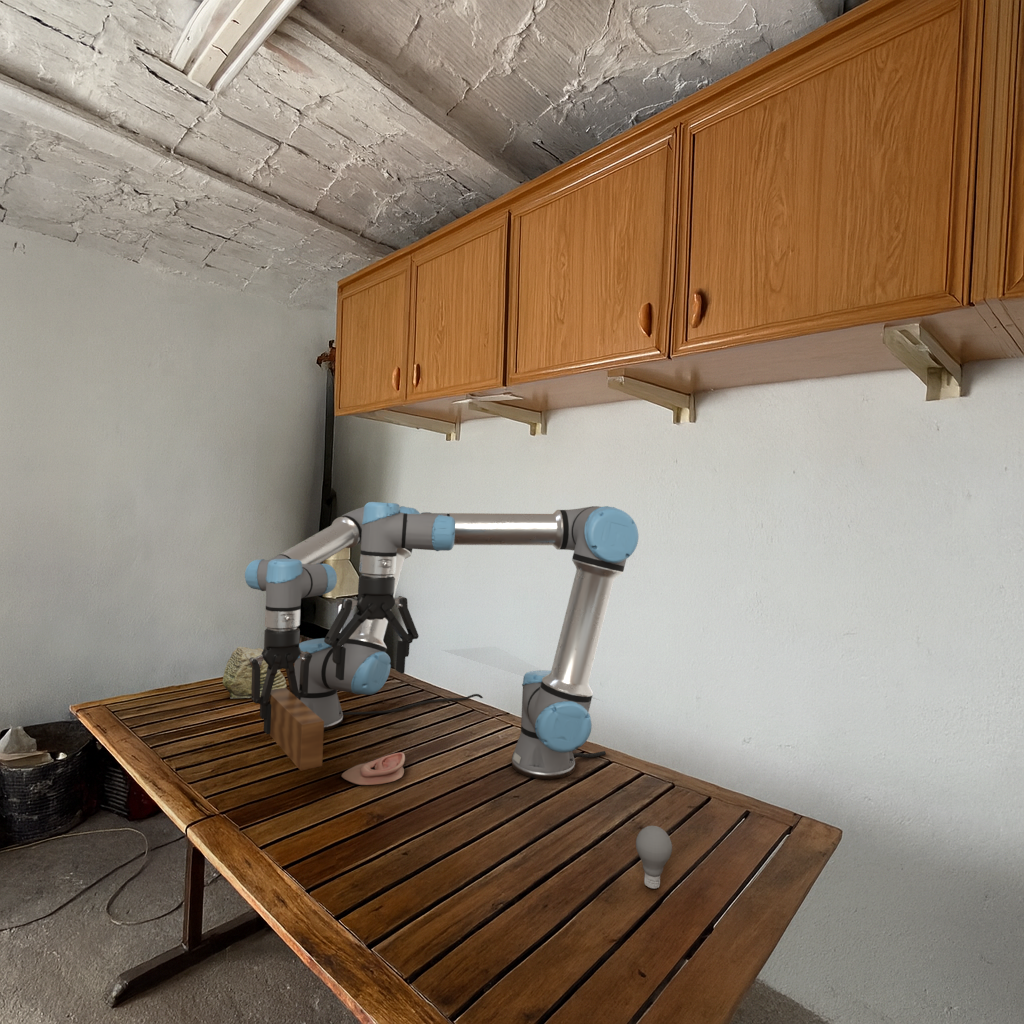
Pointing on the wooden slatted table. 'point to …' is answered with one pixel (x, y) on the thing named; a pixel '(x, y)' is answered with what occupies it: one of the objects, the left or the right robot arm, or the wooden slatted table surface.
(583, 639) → the right robot arm
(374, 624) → the left robot arm
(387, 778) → the anatomical model
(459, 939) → the wooden slatted table surface
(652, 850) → the light bulb
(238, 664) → the fossil
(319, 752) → the bar
